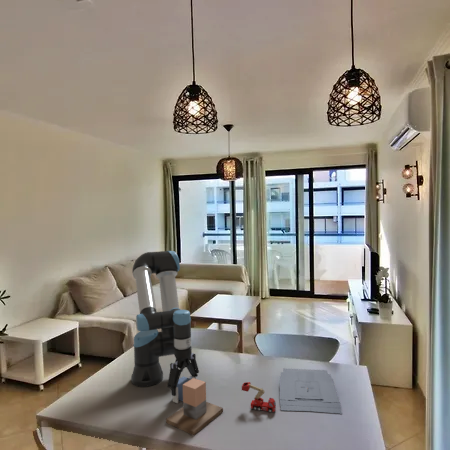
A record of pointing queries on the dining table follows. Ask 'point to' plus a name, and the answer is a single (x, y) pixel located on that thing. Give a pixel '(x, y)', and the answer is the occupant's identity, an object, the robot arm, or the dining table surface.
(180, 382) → the slate blue brick
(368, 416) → the dining table surface
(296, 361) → the dining table surface
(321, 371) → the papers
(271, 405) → the toy fire truck
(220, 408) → the board
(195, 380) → the terracotta brick
